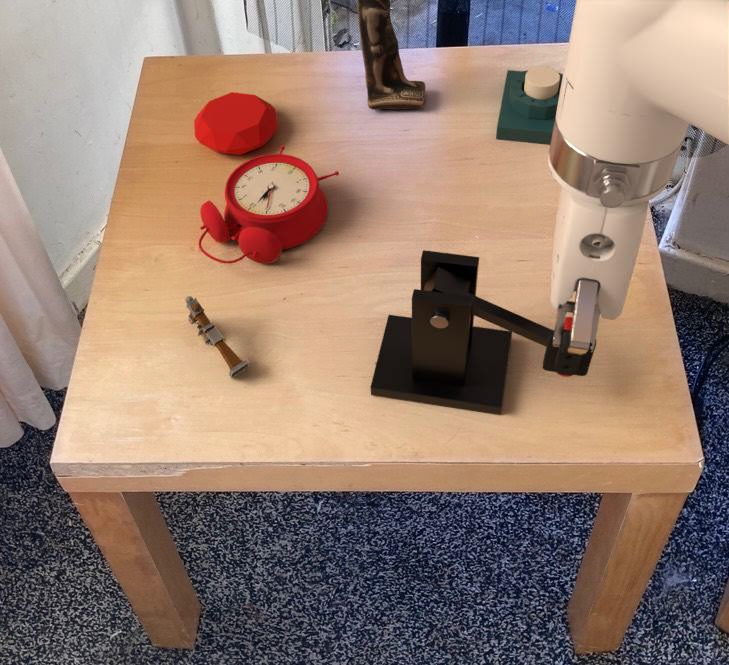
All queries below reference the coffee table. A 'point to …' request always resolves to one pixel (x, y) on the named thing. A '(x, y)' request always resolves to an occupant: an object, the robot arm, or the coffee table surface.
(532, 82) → the power button
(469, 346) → the black lever base
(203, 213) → the alarm clock
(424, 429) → the coffee table surface
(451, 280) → the red handled lever
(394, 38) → the statue
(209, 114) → the gemstone
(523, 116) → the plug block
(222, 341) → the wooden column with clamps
